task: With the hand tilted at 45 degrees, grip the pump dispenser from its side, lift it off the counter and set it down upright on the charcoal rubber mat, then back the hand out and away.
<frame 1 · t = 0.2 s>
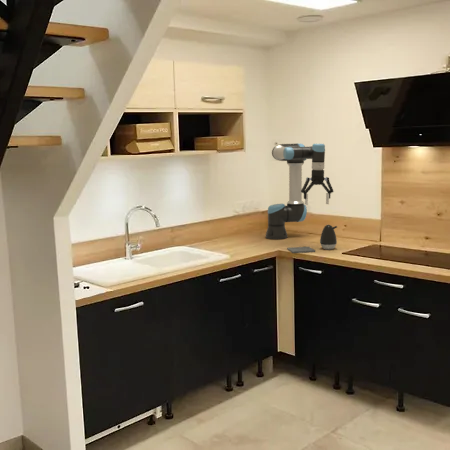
hand: (316, 204, 354), 28 cm above the table, tool pointing down, fingers open, 13 cm apart
charcoal mat: (300, 250, 356), on the table
pump dispenser: (328, 249, 360), on the table
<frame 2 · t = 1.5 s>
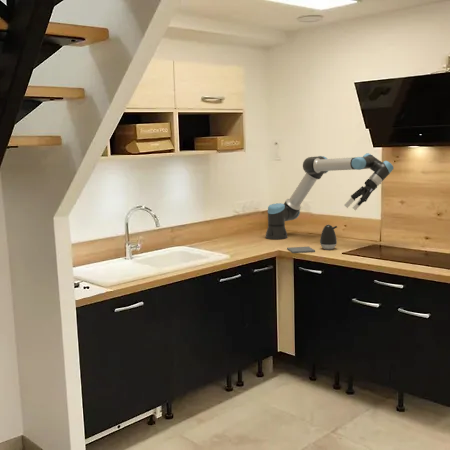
hand: (349, 207, 358), 25 cm above the table, tool tilted 45°, fingers open, 13 cm apart
nothing on the table moved.
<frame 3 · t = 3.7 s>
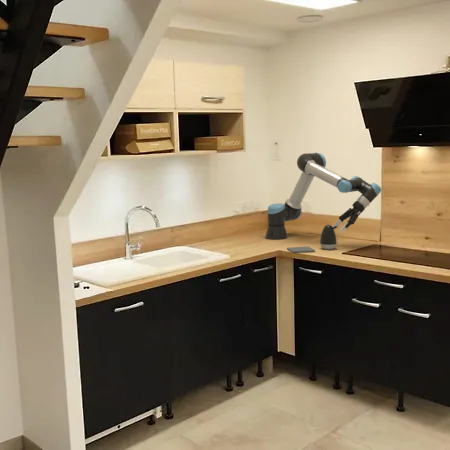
hand: (337, 229, 358), 12 cm above the table, tool tilted 45°, fingers open, 13 cm apart
nothing on the table moved.
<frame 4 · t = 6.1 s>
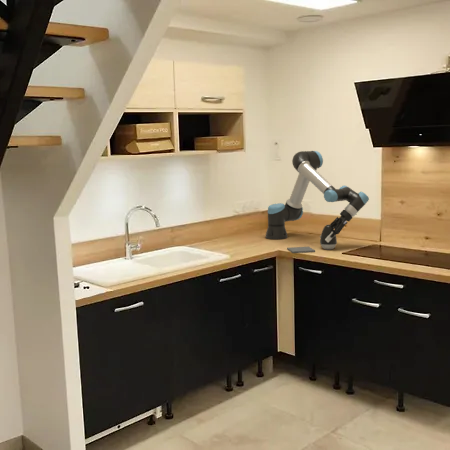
hand: (323, 239, 358), 6 cm above the table, tool tilted 45°, fingers closed on pump dispenser, 10 cm apart
pump dispenser: (328, 249, 360), on the table, touching gripper
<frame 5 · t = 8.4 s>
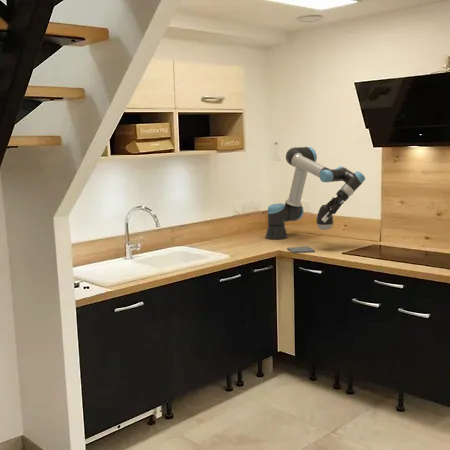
hand: (320, 219, 355), 19 cm above the table, tool tilted 45°, fingers closed on pump dispenser, 10 cm apart
pump dispenser: (325, 229, 357), point 12 cm above the table, touching gripper
when the fingers open (8 cm above the table, at t = 11.2 s): pump dispenser stays where it is, resting on charcoal mat.
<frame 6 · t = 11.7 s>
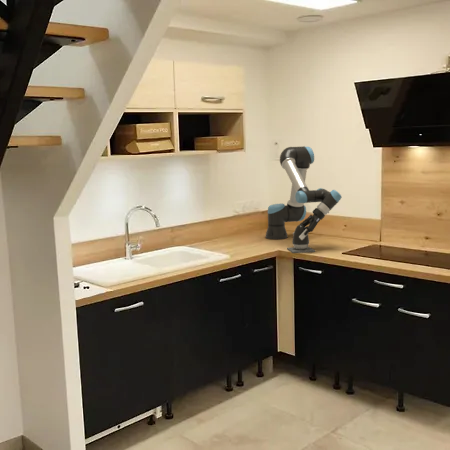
hand: (297, 236, 354), 9 cm above the table, tool tilted 45°, fingers open, 13 cm apart
pump dispenser: (301, 249, 356), point 1 cm above the table, touching charcoal mat
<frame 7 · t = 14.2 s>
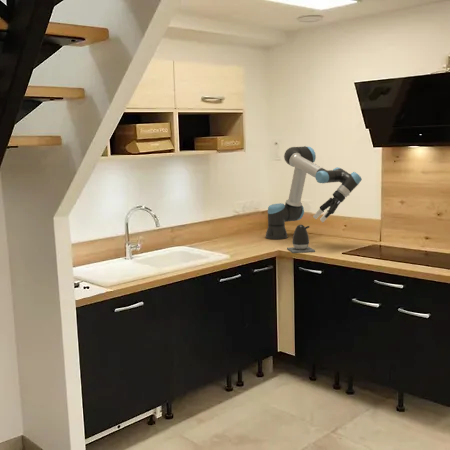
hand: (317, 219, 355), 19 cm above the table, tool tilted 45°, fingers open, 13 cm apart
nothing on the table moved.
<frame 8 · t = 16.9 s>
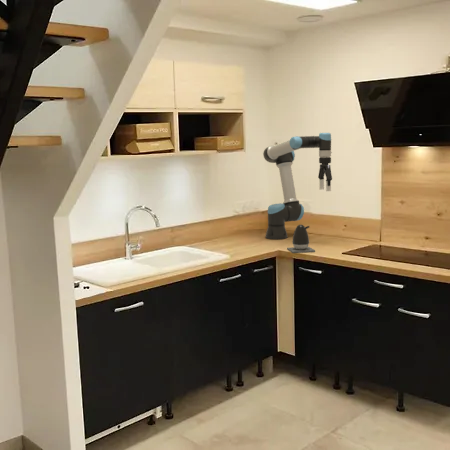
hand: (324, 190, 374), 35 cm above the table, tool pointing down, fingers open, 13 cm apart
nothing on the table moved.
at the end: pump dispenser inside the target area on the charcoal mat (0.0 cm from its centre), point 0.8 cm above the charcoal mat's base; pump dispenser tilted 0°; the gripper is holding nothing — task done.
